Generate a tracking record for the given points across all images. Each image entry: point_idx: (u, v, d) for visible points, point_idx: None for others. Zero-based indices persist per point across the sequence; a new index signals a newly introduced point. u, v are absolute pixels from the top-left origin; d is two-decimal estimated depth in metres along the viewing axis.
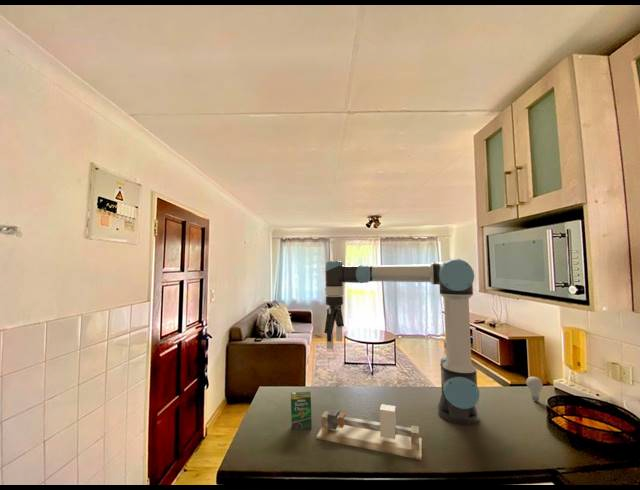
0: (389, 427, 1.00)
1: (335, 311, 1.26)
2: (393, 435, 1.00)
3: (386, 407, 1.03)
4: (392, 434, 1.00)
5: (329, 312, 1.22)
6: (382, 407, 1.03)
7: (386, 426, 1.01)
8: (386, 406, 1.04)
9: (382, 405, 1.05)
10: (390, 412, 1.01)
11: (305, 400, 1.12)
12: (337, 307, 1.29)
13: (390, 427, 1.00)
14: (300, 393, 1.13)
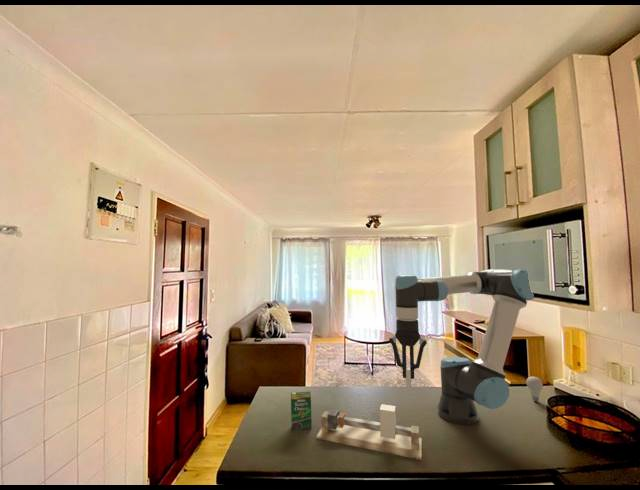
0: (389, 427, 1.00)
1: (401, 339, 1.02)
2: (393, 435, 1.00)
3: (386, 407, 1.03)
4: (392, 434, 1.00)
5: None
6: (382, 407, 1.03)
7: (386, 426, 1.01)
8: (386, 406, 1.04)
9: (382, 405, 1.05)
10: (390, 412, 1.01)
11: (305, 400, 1.12)
12: None
13: (390, 427, 1.00)
14: (300, 393, 1.13)
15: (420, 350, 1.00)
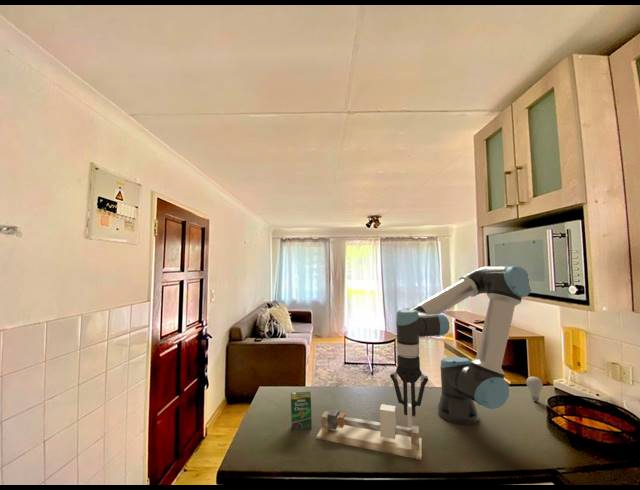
0: (389, 427, 1.00)
1: (402, 375, 1.01)
2: (393, 435, 1.00)
3: (386, 407, 1.03)
4: (392, 434, 1.00)
5: None
6: (382, 407, 1.03)
7: (386, 426, 1.01)
8: (386, 406, 1.04)
9: (382, 405, 1.05)
10: (390, 412, 1.01)
11: (305, 400, 1.12)
12: None
13: (390, 427, 1.00)
14: (300, 393, 1.13)
15: (421, 387, 0.99)
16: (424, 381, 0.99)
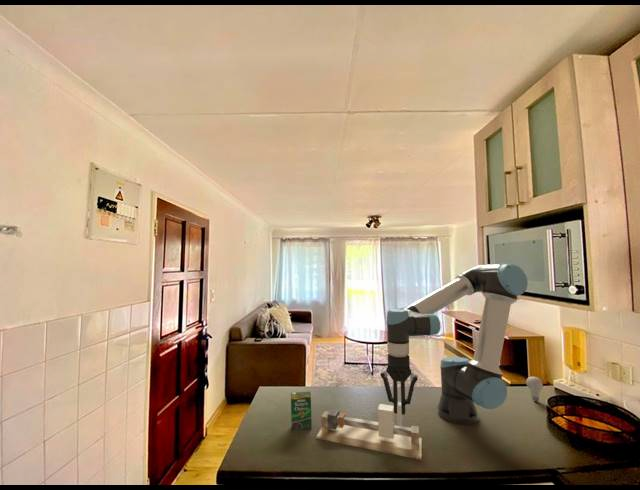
0: (387, 427, 1.01)
1: (392, 374, 1.02)
2: (391, 435, 1.00)
3: (384, 406, 1.04)
4: (390, 434, 1.00)
5: None
6: (380, 407, 1.04)
7: (384, 426, 1.01)
8: (384, 406, 1.04)
9: (380, 405, 1.05)
10: (388, 412, 1.01)
11: (305, 400, 1.12)
12: None
13: (388, 427, 1.00)
14: (300, 393, 1.13)
15: (411, 386, 1.00)
16: (414, 380, 1.00)
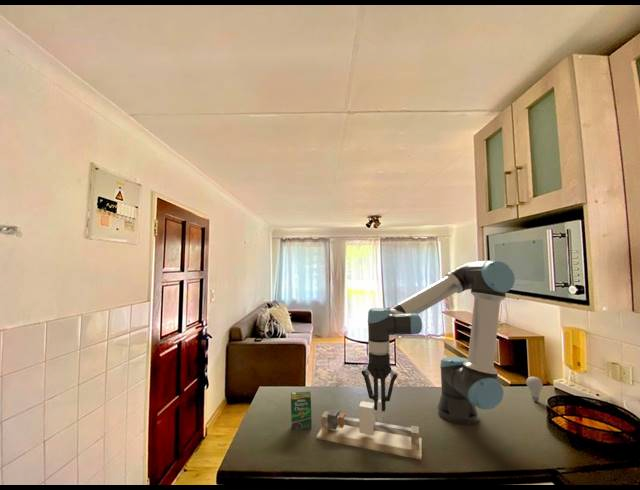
0: (368, 424, 1.03)
1: None
2: (371, 431, 1.02)
3: (365, 404, 1.06)
4: (370, 430, 1.02)
5: None
6: (362, 404, 1.06)
7: (365, 422, 1.03)
8: (365, 403, 1.06)
9: (362, 402, 1.07)
10: (369, 409, 1.03)
11: (305, 400, 1.12)
12: None
13: (369, 423, 1.03)
14: (300, 393, 1.13)
15: (391, 383, 1.02)
16: (393, 377, 1.02)
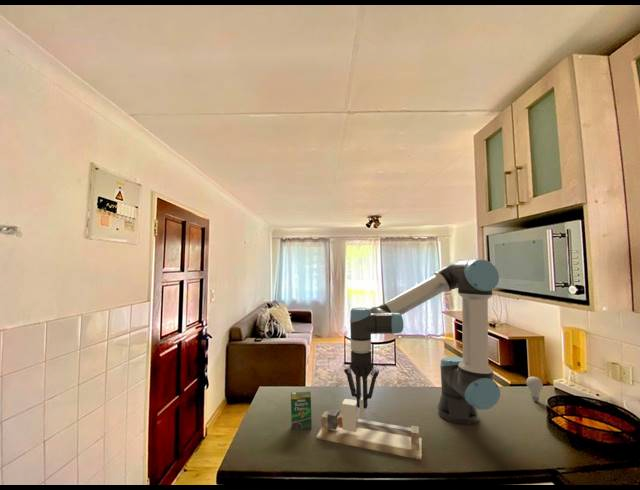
0: (350, 421, 1.05)
1: None
2: (354, 428, 1.04)
3: (349, 401, 1.08)
4: (353, 427, 1.04)
5: None
6: (345, 401, 1.08)
7: (348, 419, 1.05)
8: (349, 400, 1.09)
9: (345, 399, 1.09)
10: (351, 406, 1.05)
11: (305, 400, 1.12)
12: None
13: (351, 420, 1.05)
14: (300, 393, 1.13)
15: (372, 381, 1.04)
16: (374, 375, 1.04)
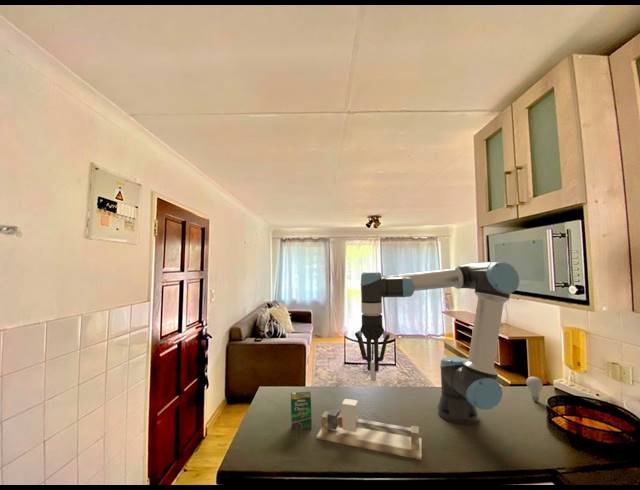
0: (350, 421, 1.05)
1: None
2: (354, 428, 1.04)
3: (349, 401, 1.08)
4: (353, 427, 1.04)
5: None
6: (345, 401, 1.08)
7: (348, 419, 1.05)
8: (349, 400, 1.09)
9: (345, 399, 1.09)
10: (351, 406, 1.05)
11: (305, 400, 1.12)
12: None
13: (351, 420, 1.05)
14: (300, 393, 1.13)
15: (383, 343, 1.04)
16: (386, 337, 1.04)
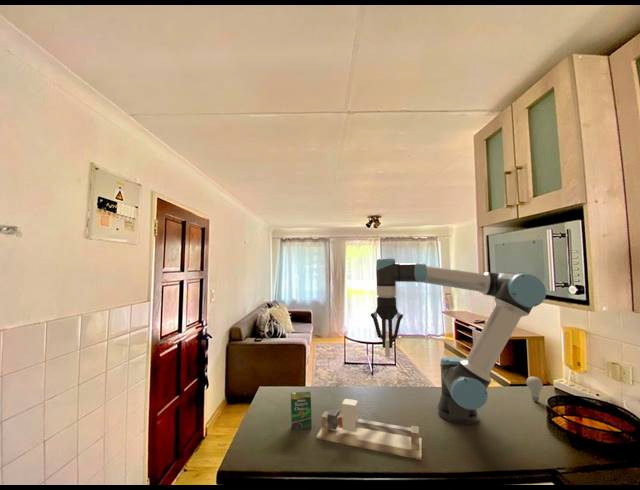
0: (350, 421, 1.05)
1: None
2: (354, 428, 1.04)
3: (349, 401, 1.08)
4: (353, 427, 1.04)
5: None
6: (345, 401, 1.08)
7: (348, 419, 1.05)
8: (349, 400, 1.09)
9: (345, 399, 1.09)
10: (351, 406, 1.05)
11: (305, 400, 1.12)
12: None
13: (351, 420, 1.05)
14: (300, 393, 1.13)
15: (397, 323, 1.14)
16: (399, 317, 1.14)
